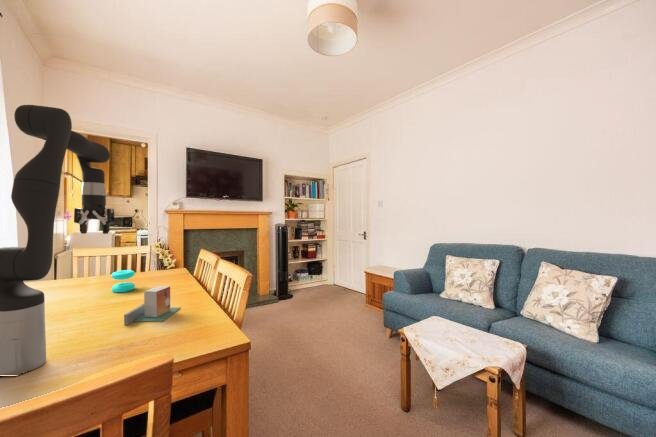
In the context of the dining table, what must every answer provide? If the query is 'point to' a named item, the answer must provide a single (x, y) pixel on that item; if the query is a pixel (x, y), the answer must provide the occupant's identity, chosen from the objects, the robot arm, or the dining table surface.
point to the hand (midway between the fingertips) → (94, 233)
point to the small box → (157, 301)
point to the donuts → (120, 276)
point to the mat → (158, 319)
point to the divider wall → (133, 315)
